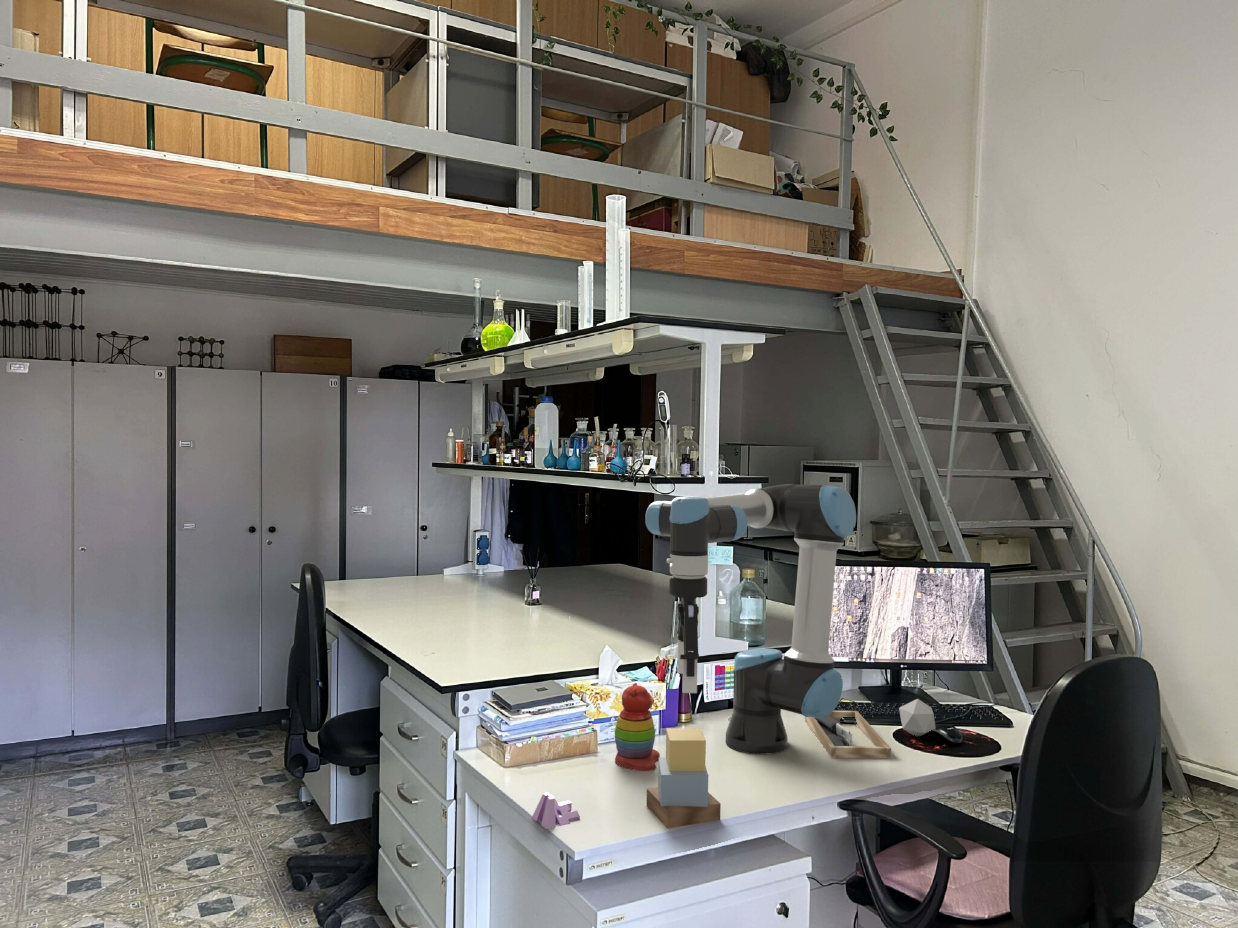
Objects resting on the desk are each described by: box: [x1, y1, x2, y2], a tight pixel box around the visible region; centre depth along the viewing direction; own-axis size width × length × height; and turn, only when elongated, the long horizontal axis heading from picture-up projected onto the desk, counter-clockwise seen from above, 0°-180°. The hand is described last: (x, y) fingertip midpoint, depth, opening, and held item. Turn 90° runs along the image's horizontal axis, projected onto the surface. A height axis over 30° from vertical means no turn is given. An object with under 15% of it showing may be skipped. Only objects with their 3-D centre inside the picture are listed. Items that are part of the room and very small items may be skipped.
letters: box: [531, 792, 581, 830], centre depth 164 cm, size 8×7×6 cm
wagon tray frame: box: [804, 710, 892, 759], centre depth 213 cm, size 14×28×3 cm, turn 0°
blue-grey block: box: [657, 757, 709, 807], centre depth 166 cm, size 9×9×6 cm
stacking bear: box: [614, 682, 661, 772], centre depth 196 cm, size 11×10×18 cm
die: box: [898, 698, 936, 737], centre depth 216 cm, size 8×9×10 cm
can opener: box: [815, 716, 854, 746], centre depth 214 cm, size 19×6×5 cm, turn 8°
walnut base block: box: [646, 786, 722, 829], centre depth 167 cm, size 11×11×5 cm
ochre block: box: [665, 727, 707, 771], centre depth 167 cm, size 7×7×6 cm
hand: (686, 682), depth 168 cm, fingers open, 13 cm apart
